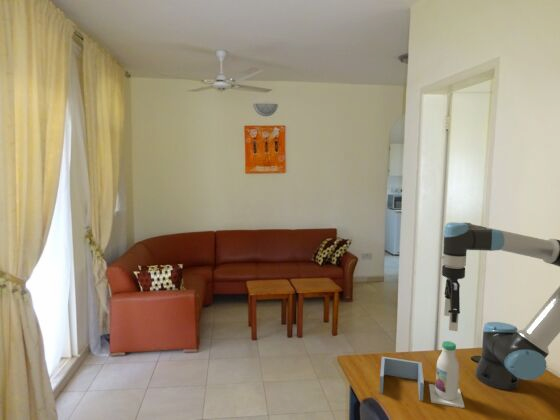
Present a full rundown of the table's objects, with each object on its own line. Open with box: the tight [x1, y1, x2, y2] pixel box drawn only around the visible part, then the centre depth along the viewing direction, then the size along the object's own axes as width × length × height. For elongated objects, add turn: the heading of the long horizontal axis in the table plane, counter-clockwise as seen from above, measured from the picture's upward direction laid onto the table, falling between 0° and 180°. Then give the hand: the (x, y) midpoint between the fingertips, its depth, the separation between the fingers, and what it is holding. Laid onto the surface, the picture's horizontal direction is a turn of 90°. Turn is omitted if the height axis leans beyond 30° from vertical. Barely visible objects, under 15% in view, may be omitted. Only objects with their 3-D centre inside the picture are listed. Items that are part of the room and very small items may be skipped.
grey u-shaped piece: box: [378, 356, 425, 402], centre depth 147 cm, size 15×15×7 cm
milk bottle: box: [434, 340, 460, 400], centre depth 139 cm, size 8×8×20 cm
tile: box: [428, 383, 465, 409], centre depth 141 cm, size 11×11×1 cm
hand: (450, 322), depth 137 cm, fingers open, 13 cm apart
